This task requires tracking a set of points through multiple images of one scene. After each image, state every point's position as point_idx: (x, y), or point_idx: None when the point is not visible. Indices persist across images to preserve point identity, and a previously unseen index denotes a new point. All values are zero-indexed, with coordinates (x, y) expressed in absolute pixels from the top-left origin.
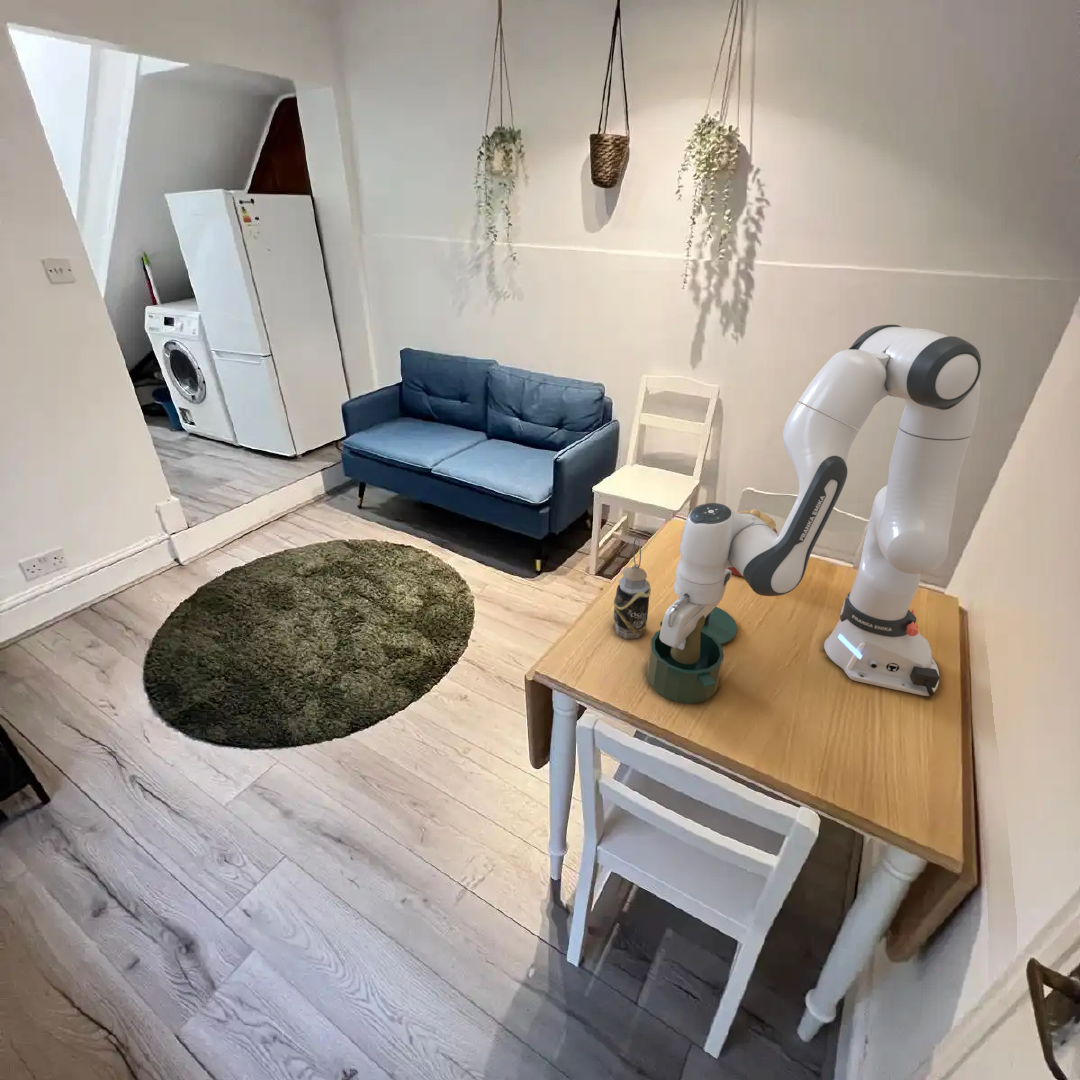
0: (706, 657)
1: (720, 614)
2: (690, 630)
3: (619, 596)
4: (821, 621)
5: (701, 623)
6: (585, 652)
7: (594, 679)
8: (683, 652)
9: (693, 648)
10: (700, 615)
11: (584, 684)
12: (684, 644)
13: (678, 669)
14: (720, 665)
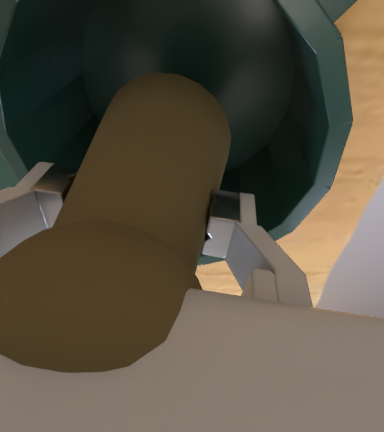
0: (64, 46)
1: None
2: (309, 361)
3: None
4: None
5: (105, 305)
6: (228, 281)
7: (297, 254)
8: (221, 168)
9: (192, 144)
10: (52, 429)
11: (319, 262)
12: (253, 217)
13: (338, 145)
14: None
